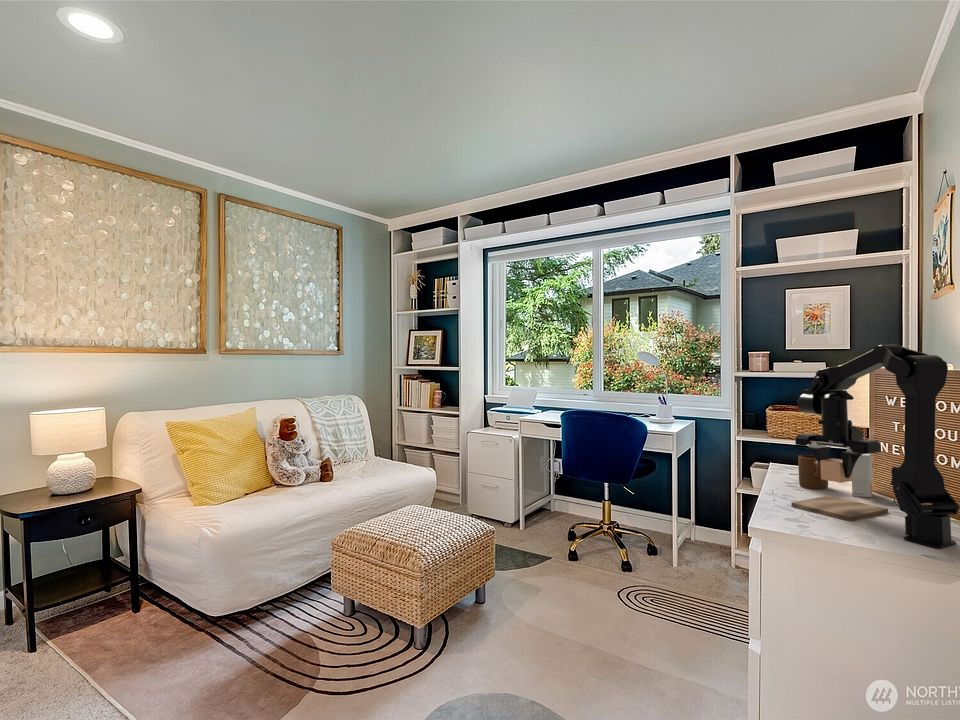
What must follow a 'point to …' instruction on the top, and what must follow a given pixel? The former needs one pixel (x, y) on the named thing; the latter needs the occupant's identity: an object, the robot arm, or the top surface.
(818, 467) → the mug
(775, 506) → the top surface
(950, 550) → the top surface
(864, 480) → the skincare box
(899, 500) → the robot arm
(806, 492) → the top surface
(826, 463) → the terracotta cube
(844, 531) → the top surface
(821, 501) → the walnut board
